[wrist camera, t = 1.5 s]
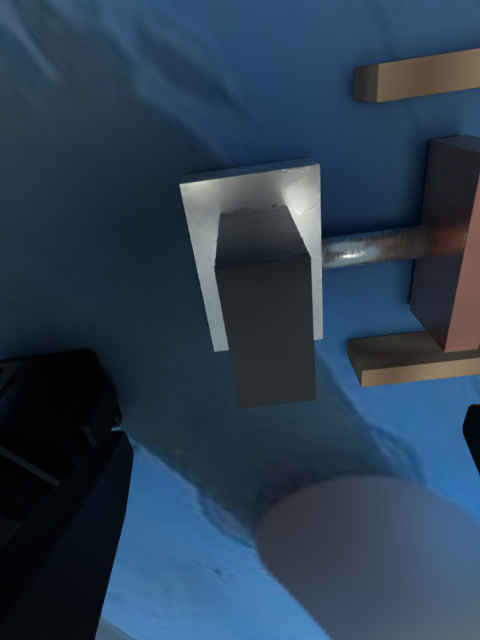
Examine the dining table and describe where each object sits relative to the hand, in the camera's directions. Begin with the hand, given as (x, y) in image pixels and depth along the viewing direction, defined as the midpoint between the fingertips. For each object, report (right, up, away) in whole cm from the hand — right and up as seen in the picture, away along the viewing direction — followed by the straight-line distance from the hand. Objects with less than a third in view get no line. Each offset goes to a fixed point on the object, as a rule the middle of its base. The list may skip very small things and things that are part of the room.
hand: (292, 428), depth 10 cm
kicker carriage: (+3, +7, +10) cm, 12 cm away
